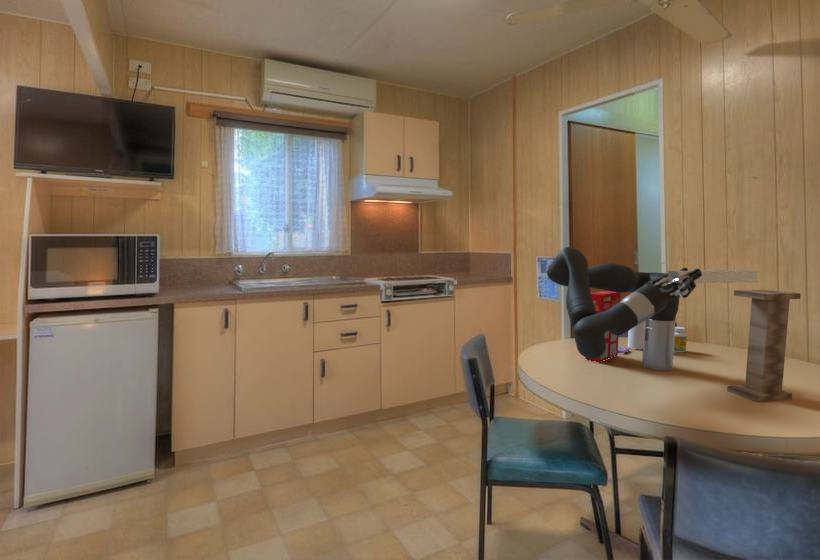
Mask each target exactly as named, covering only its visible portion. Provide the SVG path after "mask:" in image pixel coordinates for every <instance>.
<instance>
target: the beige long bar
mask: <svg viewBox="0 0 820 560" xmlns="http://www.w3.org/2000/svg"><path fill="white" fill-rule="evenodd" d="M692 271H693V270H688V271H679V270H667V273H668V277H669V282H670V281H672V280H674V279H676V278H678V279H681V278H682V277H684V276H686V275H687V274H689V273H690V272H692ZM700 271H701V273H702V276H701V277H700V278H698V279H696V280H695V281H694V282H695V284H719V283H720V284H723V283H729V284H730V283H733V284H734V283H736V284H737V283H757V282H758V281H757V280H758V271H757V270H751V269H750V270H749V269H748V270H747V269H743V270H742V269H736V270H734V269H727V270H726V269H725V270H723V269H721V270H720V269H719V270H716V269H715V270H709V269H708V270H706V269H705V270H701V269H700ZM684 282H685V281H683V282H682V284H683V283H684Z"/></svg>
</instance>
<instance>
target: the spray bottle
mask: <svg viewBox="0 0 820 560" xmlns="http://www.w3.org/2000/svg"><path fill="white" fill-rule="evenodd" d="M644 328H645V321H644V322H643V323H640V324H638V325H636V326H635V327H633V328H632V329H630V330H629V331H627V332H628V333H627V348H628V347H630V348H636V349H643V338H644Z"/></svg>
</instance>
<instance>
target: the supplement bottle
mask: <svg viewBox="0 0 820 560" xmlns="http://www.w3.org/2000/svg"><path fill="white" fill-rule="evenodd" d="M687 338H688V337H687V334H686V328H685V327H682V326H675V336H674V353H686V351H687Z"/></svg>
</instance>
